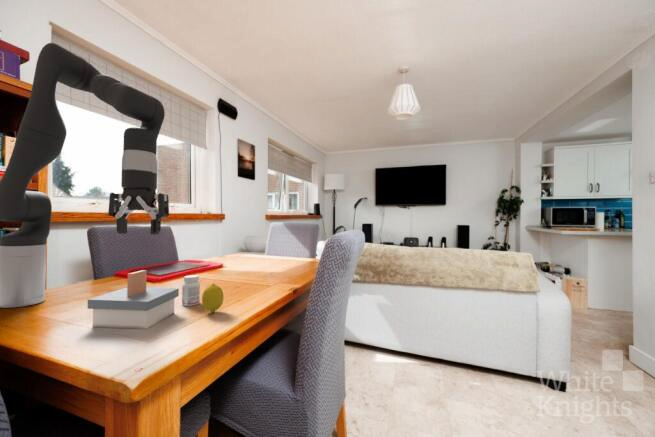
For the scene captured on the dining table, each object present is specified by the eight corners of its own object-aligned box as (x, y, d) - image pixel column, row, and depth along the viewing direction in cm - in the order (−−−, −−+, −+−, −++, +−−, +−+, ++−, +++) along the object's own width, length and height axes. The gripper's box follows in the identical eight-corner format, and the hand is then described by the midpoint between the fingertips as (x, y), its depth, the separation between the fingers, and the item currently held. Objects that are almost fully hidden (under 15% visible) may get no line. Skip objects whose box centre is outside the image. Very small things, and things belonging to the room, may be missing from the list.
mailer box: (92, 326, 65) (93, 301, 65) (128, 311, 76) (128, 289, 76) (145, 328, 65) (146, 303, 65) (174, 313, 76) (174, 291, 76)
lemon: (214, 308, 81) (215, 280, 81) (227, 311, 78) (228, 283, 78) (197, 313, 76) (197, 284, 76) (210, 317, 73) (210, 287, 73)
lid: (87, 308, 65) (88, 276, 65) (128, 294, 77) (128, 267, 77) (147, 310, 64) (148, 277, 64) (178, 296, 76) (179, 268, 76)
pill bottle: (202, 302, 86) (203, 275, 86) (193, 306, 82) (194, 278, 82) (188, 301, 87) (188, 274, 87) (178, 305, 82) (179, 277, 82)
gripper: (100, 167, 67) (99, 234, 67) (157, 168, 67) (156, 235, 67) (124, 173, 75) (123, 233, 75) (175, 173, 74) (174, 233, 74)
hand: (138, 234), depth 71 cm, fingers open, 8 cm apart
